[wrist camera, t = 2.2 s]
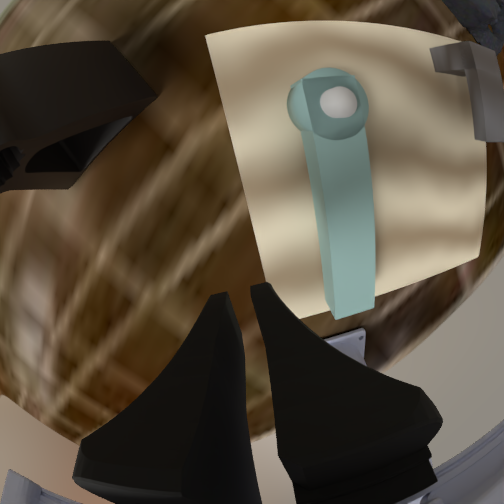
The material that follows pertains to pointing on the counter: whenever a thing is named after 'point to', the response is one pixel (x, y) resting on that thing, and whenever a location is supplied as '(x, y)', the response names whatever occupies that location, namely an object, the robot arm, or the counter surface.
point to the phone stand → (63, 110)
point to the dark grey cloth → (481, 20)
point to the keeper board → (378, 140)
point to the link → (339, 183)
